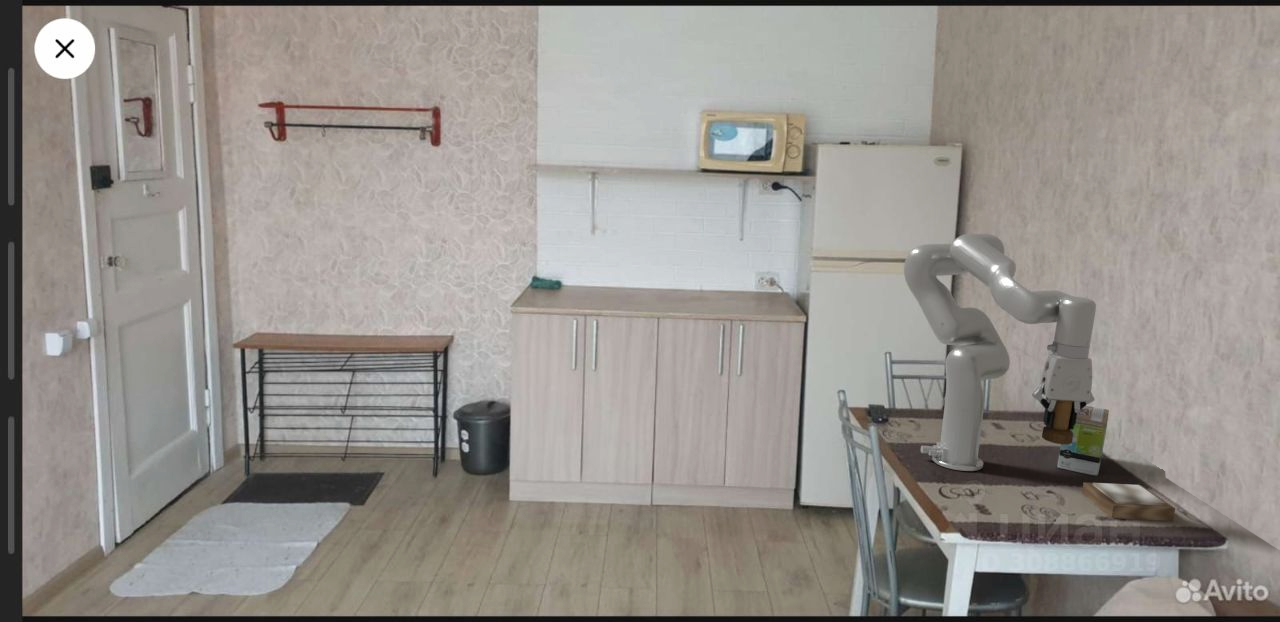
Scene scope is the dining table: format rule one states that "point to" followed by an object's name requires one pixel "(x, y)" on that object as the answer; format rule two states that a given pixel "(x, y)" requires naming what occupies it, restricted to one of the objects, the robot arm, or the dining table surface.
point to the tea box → (1085, 442)
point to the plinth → (1128, 501)
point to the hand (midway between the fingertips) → (1058, 426)
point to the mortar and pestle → (1060, 424)
